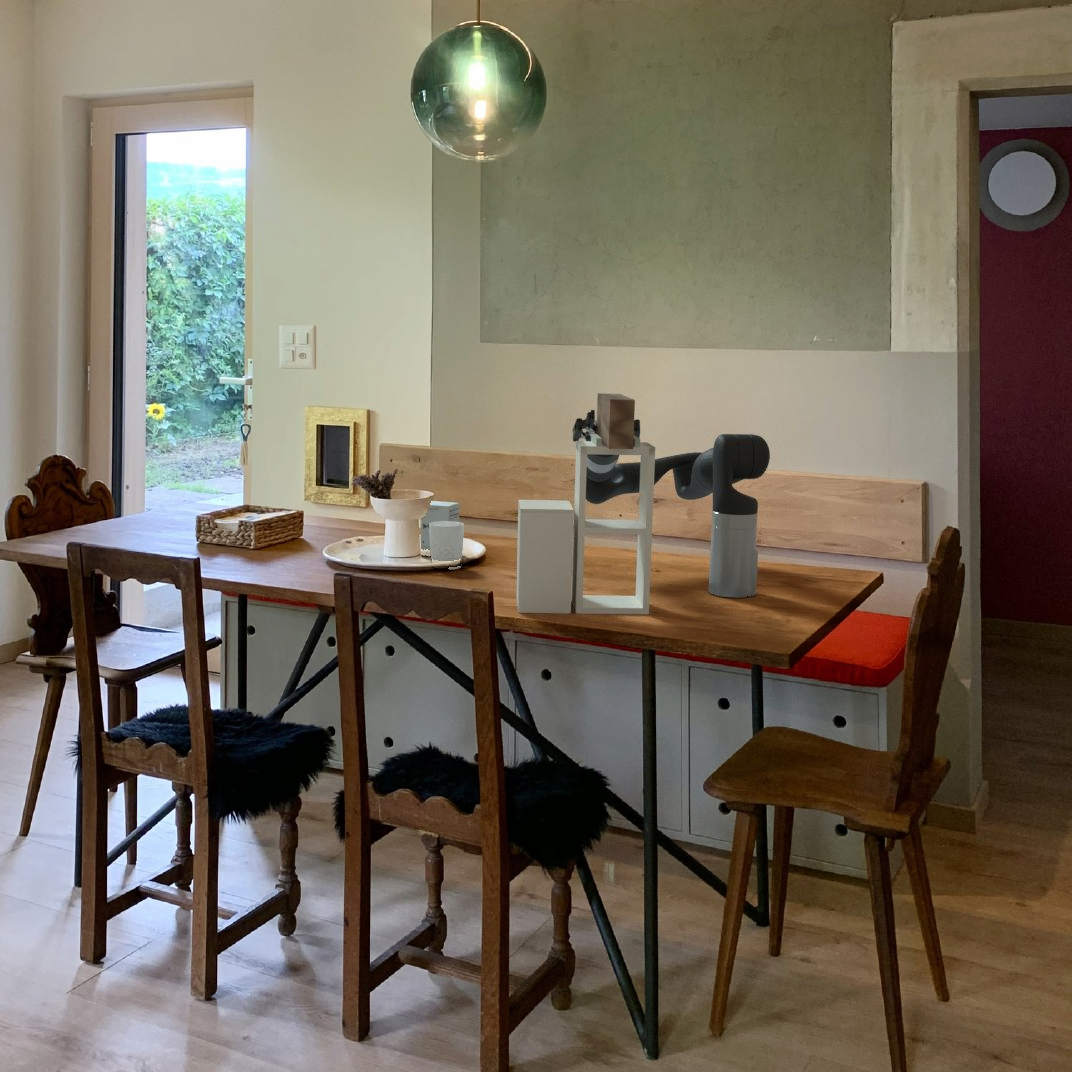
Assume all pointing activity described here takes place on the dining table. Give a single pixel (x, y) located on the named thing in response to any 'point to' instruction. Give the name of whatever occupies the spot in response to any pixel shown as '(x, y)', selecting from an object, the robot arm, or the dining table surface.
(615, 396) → the walnut block
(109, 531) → the dining table surface
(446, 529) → the pale blue cup
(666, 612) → the dining table surface
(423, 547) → the supplement box
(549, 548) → the step shelf
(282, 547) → the dining table surface
